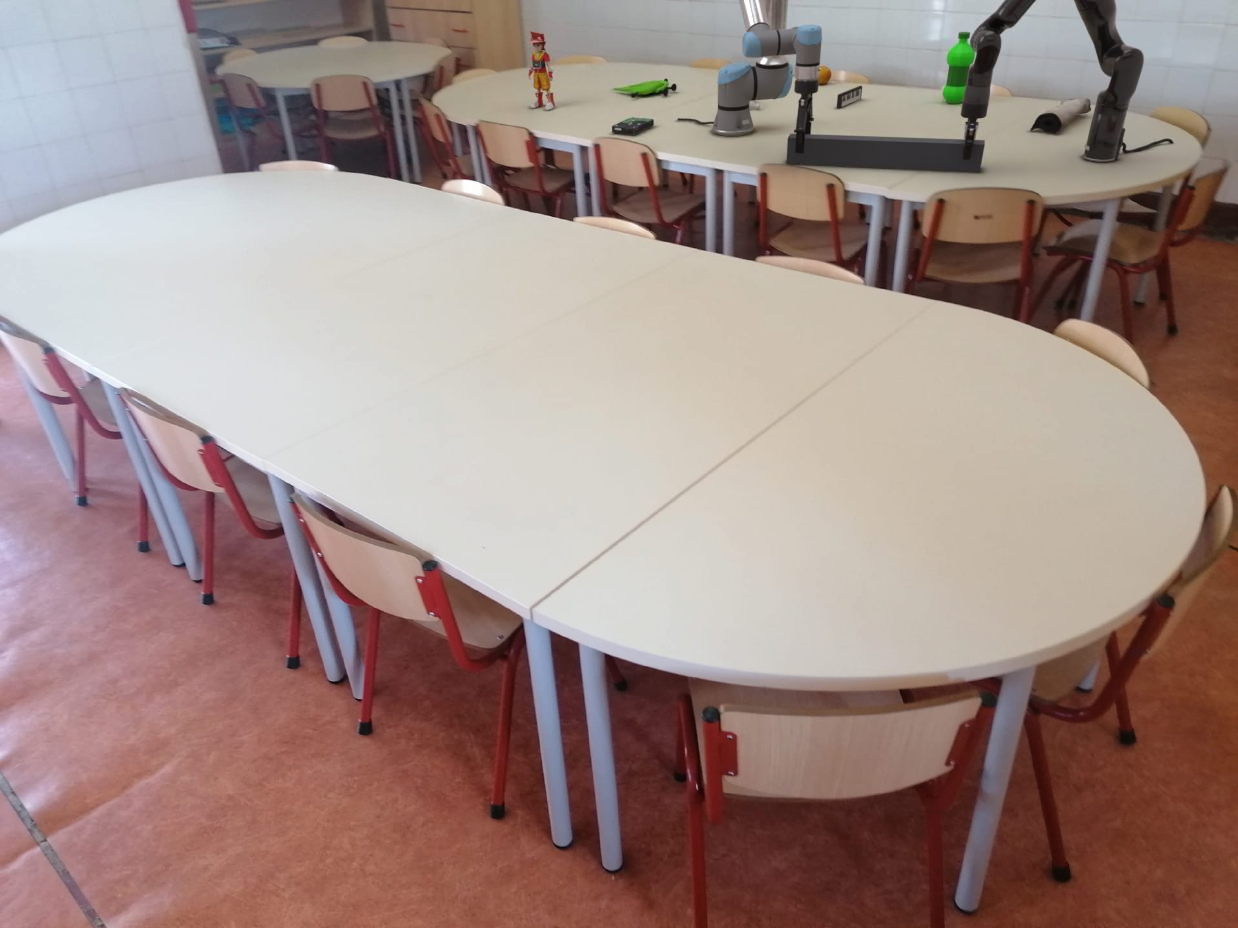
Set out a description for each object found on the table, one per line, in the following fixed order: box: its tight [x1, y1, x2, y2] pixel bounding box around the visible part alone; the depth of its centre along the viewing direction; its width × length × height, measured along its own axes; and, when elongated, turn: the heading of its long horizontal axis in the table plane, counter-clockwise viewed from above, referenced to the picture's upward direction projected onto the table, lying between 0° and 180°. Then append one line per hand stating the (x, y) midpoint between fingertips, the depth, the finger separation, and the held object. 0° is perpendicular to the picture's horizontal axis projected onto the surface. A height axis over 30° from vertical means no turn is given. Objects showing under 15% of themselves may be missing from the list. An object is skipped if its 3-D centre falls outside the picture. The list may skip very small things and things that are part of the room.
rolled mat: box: [1030, 97, 1092, 134], centre depth 321 cm, size 30×9×10 cm
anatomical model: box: [749, 100, 762, 110], centre depth 364 cm, size 15×10×10 cm
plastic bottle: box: [942, 31, 976, 104], centre depth 348 cm, size 10×10×25 cm
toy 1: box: [527, 31, 556, 111], centre depth 374 cm, size 12×9×30 cm
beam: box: [786, 133, 986, 173], centre depth 291 cm, size 61×5×9 cm, turn 71°
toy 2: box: [612, 78, 677, 99], centre depth 396 cm, size 28×5×30 cm
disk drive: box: [611, 116, 655, 136], centre depth 345 cm, size 10×3×15 cm
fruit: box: [817, 65, 832, 85], centre depth 390 cm, size 8×8×8 cm
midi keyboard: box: [836, 85, 863, 109], centre depth 360 cm, size 18×1×5 cm, turn 138°
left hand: (802, 147), depth 298 cm, fingers open, 13 cm apart
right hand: (966, 156), depth 283 cm, fingers closed on beam, 5 cm apart
